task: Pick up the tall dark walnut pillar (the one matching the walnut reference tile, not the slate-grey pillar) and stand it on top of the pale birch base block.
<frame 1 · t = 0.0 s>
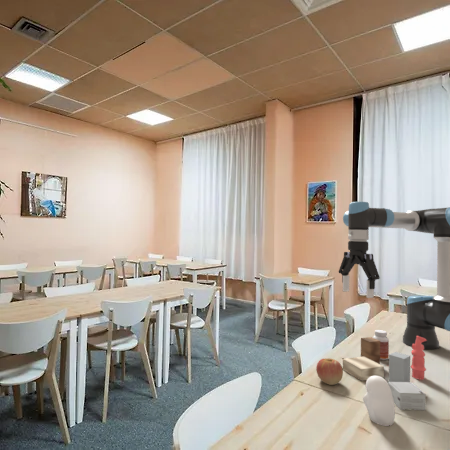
hand: (357, 294, 133), 28 cm above the table, fingers open, 13 cm apart
reference tile: (383, 390, 111), on the table
slate pillar: (399, 384, 116), on the table
apple: (329, 383, 116), on the table
figurine: (379, 420, 93), on the table
small box: (406, 404, 103), on the table
birch base: (362, 373, 125), on the table
walnut pillar: (370, 364, 133), on the table
pill bottle: (380, 358, 141), on the table
figurine 2: (418, 377, 122), on the table
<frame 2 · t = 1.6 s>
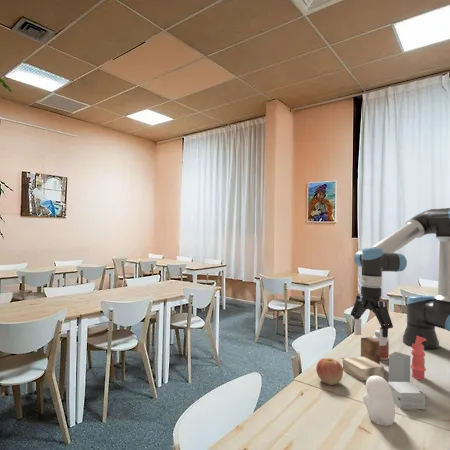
hand: (369, 339, 133), 10 cm above the table, fingers open, 13 cm apart
nothing on the table moved.
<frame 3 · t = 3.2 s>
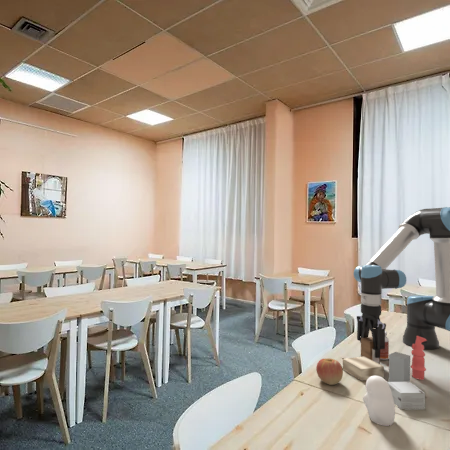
hand: (370, 362, 133), 1 cm above the table, fingers closed on walnut pillar, 5 cm apart
walnut pillar: (370, 364, 133), on the table, touching gripper
everything else where it was.
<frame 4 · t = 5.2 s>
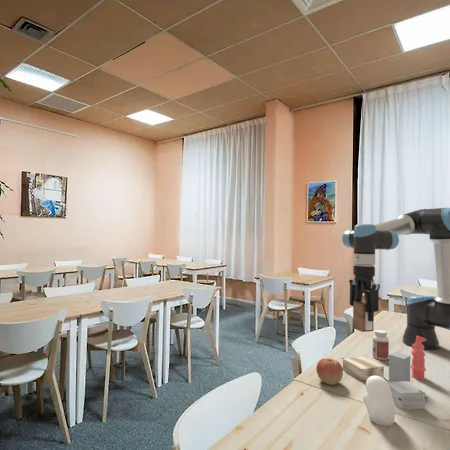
hand: (363, 327, 125), 17 cm above the table, fingers closed on walnut pillar, 5 cm apart
walnut pillar: (363, 329, 125), point 16 cm above the table, touching gripper
everything else where it was.
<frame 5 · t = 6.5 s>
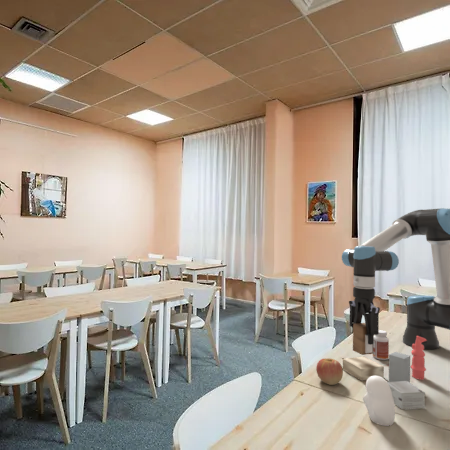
hand: (363, 349, 125), 9 cm above the table, fingers closed on walnut pillar, 5 cm apart
walnut pillar: (362, 351, 125), point 8 cm above the table, touching gripper
everything else where it was.
when the fingers open (6 cm above the table, at t = 7.6 s): walnut pillar stays where it is, resting on birch base.
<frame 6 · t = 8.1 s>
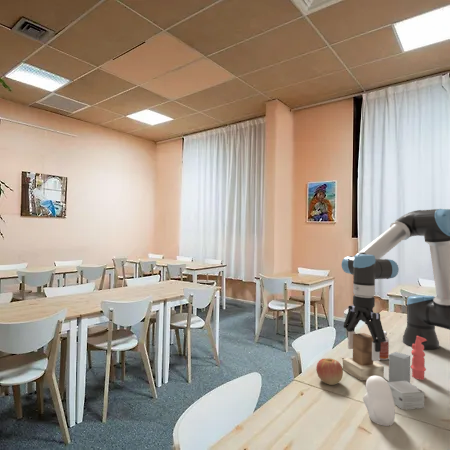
hand: (362, 354, 125), 7 cm above the table, fingers open, 12 cm apart
walnut pillar: (362, 362, 125), point 4 cm above the table, touching birch base
everything else where it was.
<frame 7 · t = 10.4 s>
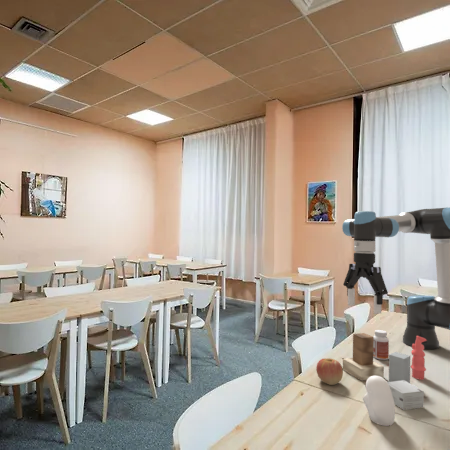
hand: (363, 309, 126), 24 cm above the table, fingers open, 13 cm apart
nothing on the table moved.
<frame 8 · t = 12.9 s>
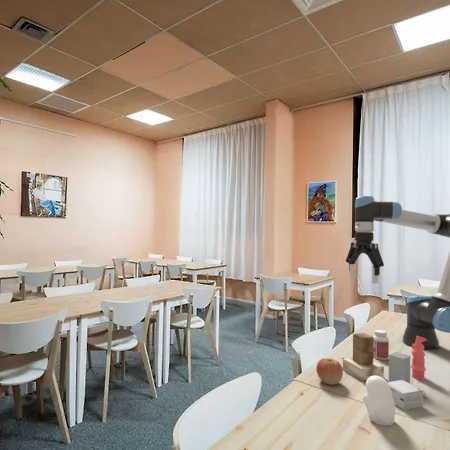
hand: (363, 280, 145), 32 cm above the table, fingers open, 13 cm apart
at the end: walnut pillar inside the target area on the birch base (0.0 cm from its centre), point 4.0 cm above the birch base's base; walnut pillar tilted 0°; the gripper is holding nothing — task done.
